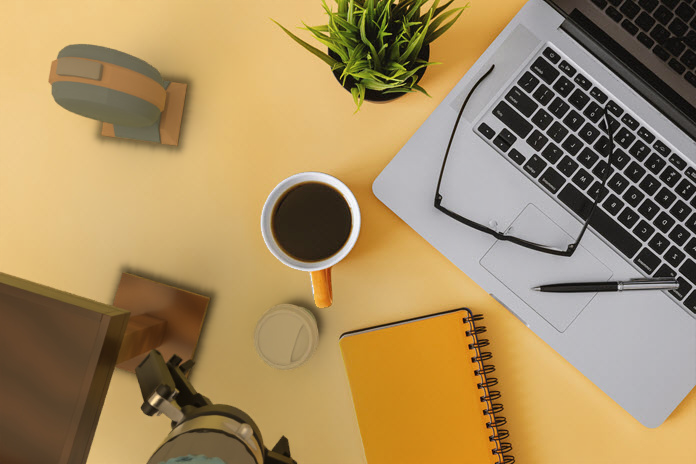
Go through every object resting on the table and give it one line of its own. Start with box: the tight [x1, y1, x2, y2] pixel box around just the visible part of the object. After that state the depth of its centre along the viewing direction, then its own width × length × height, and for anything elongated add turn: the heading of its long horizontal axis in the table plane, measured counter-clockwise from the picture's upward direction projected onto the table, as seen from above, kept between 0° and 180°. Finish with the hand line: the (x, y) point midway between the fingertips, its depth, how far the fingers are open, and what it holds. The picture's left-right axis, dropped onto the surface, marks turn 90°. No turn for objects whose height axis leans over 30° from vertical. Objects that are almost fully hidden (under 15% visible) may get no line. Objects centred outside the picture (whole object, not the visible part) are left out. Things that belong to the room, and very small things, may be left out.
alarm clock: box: [48, 43, 188, 147], centre depth 67 cm, size 14×10×18 cm
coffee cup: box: [252, 303, 320, 371], centre depth 67 cm, size 8×8×12 cm
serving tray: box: [0, 271, 131, 464], centre depth 44 cm, size 18×18×4 cm
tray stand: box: [112, 272, 211, 379], centre depth 60 cm, size 14×14×29 cm
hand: (231, 409), depth 54 cm, fingers open, 13 cm apart
